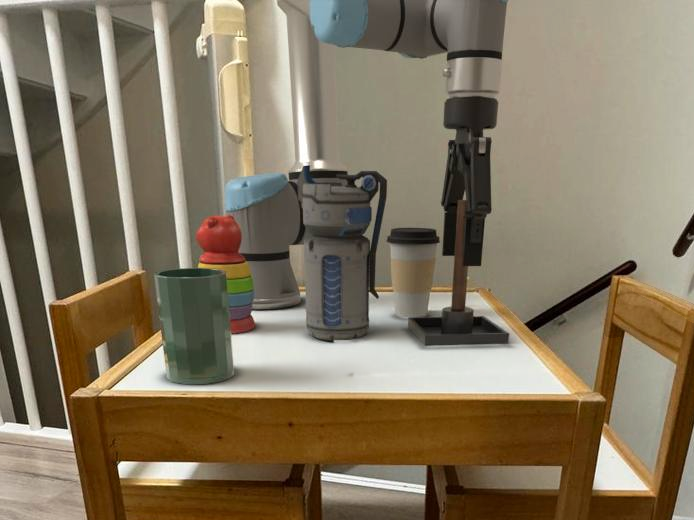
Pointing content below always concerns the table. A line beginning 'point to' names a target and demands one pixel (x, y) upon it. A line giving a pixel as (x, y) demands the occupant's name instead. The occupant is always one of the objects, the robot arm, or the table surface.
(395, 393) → the table surface
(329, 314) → the grey grenade canister
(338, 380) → the table surface
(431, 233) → the coffee cup
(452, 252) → the robot arm
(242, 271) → the stacking bear
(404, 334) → the table surface
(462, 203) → the brush
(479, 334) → the tray
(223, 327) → the tumbler
